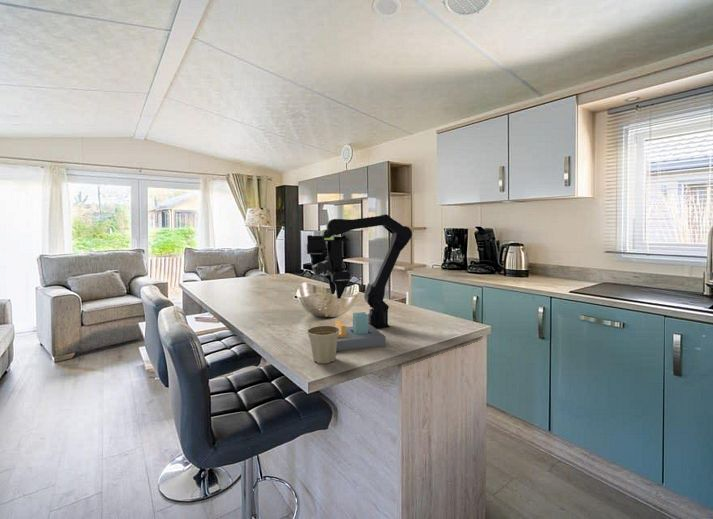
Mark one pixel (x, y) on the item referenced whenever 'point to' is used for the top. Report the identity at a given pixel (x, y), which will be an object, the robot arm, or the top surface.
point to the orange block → (341, 328)
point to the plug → (360, 323)
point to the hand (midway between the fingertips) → (335, 296)
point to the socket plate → (360, 339)
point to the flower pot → (323, 343)
